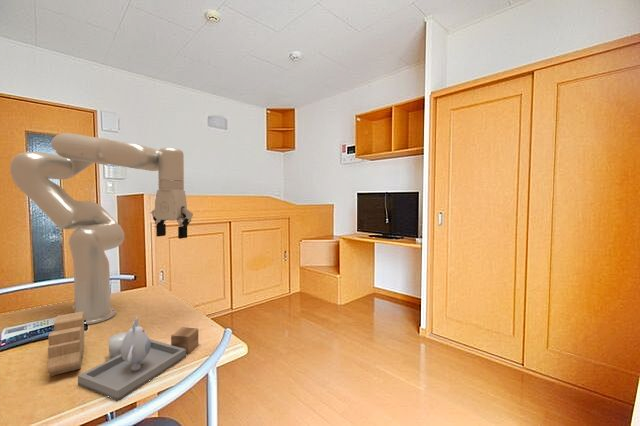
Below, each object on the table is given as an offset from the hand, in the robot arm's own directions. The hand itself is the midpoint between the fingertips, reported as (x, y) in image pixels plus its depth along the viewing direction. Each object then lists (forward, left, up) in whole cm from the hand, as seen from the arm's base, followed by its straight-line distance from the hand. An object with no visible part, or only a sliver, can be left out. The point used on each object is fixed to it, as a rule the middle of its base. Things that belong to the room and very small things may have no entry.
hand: (171, 237), depth 99 cm
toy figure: (+16, -25, -28) cm, 41 cm away
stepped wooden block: (-3, -29, -29) cm, 41 cm away
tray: (+16, -25, -28) cm, 41 cm away
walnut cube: (+19, -13, -28) cm, 37 cm away
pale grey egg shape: (+6, -22, -28) cm, 36 cm away
